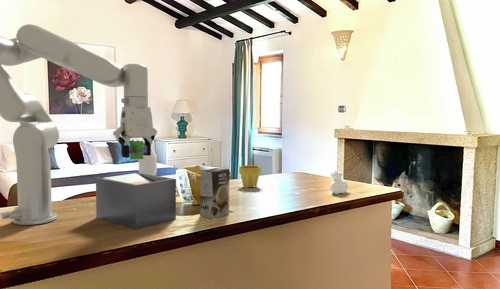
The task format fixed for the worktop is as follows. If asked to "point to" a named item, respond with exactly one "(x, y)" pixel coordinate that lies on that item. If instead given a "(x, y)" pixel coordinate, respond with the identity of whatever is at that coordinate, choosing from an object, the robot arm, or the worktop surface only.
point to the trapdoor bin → (136, 201)
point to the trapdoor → (130, 179)
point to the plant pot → (249, 175)
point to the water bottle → (148, 163)
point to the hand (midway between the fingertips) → (136, 156)
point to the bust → (338, 183)
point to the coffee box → (214, 193)
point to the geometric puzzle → (137, 149)
